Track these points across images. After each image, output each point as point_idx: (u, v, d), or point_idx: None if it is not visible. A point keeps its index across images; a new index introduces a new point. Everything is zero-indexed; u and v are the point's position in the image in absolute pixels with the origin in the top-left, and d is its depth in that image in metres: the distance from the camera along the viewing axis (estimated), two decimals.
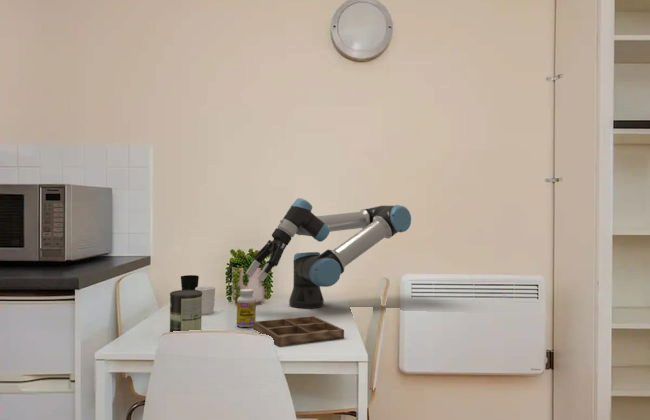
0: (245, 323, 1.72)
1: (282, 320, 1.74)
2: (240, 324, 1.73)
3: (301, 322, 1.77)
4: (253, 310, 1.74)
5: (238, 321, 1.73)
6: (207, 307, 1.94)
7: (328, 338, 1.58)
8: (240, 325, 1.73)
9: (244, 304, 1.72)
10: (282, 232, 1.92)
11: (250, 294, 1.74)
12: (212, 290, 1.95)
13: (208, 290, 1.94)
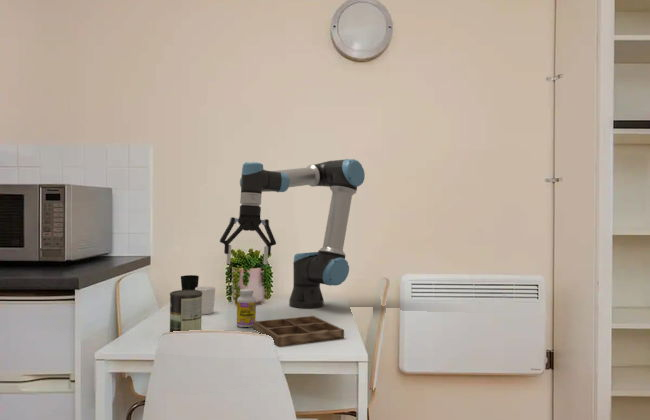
0: (245, 323, 1.72)
1: (282, 320, 1.74)
2: (240, 324, 1.73)
3: (301, 322, 1.77)
4: (253, 310, 1.74)
5: (238, 321, 1.73)
6: (207, 307, 1.94)
7: (328, 338, 1.58)
8: (240, 325, 1.73)
9: (244, 304, 1.72)
10: (260, 208, 1.77)
11: (250, 294, 1.74)
12: (212, 290, 1.95)
13: (208, 290, 1.94)
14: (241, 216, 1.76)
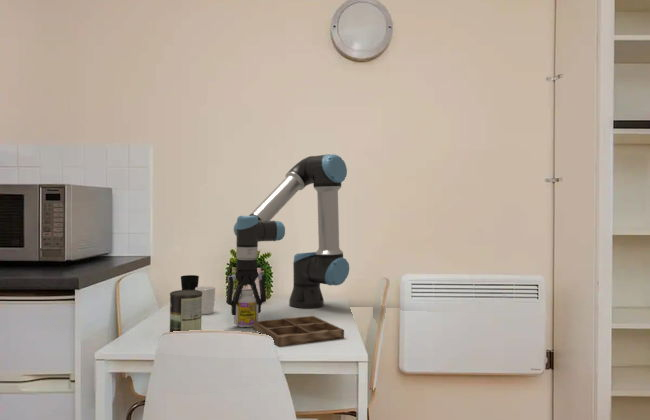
0: (245, 323, 1.72)
1: (282, 320, 1.74)
2: (240, 323, 1.73)
3: (301, 322, 1.77)
4: (253, 310, 1.74)
5: (238, 321, 1.73)
6: (207, 307, 1.94)
7: (328, 338, 1.58)
8: (240, 325, 1.73)
9: (244, 304, 1.72)
10: None
11: (250, 294, 1.74)
12: (212, 290, 1.95)
13: (208, 290, 1.94)
14: (238, 271, 1.73)
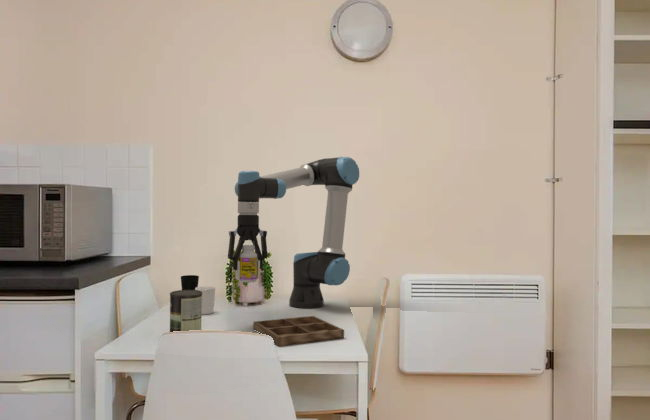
0: (247, 277, 1.72)
1: (282, 320, 1.74)
2: (241, 278, 1.73)
3: (301, 322, 1.77)
4: (254, 265, 1.74)
5: (240, 276, 1.73)
6: (207, 307, 1.94)
7: (328, 338, 1.58)
8: (242, 280, 1.73)
9: (245, 259, 1.72)
10: (258, 217, 1.75)
11: (251, 249, 1.74)
12: (212, 290, 1.95)
13: (208, 290, 1.94)
14: (240, 226, 1.73)
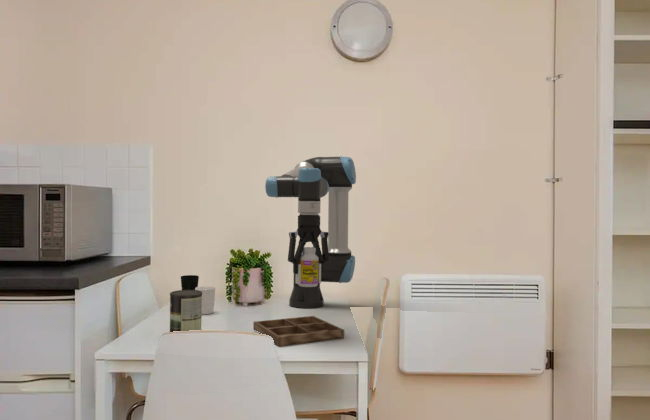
0: (308, 282, 1.61)
1: (282, 320, 1.74)
2: (302, 283, 1.61)
3: (301, 322, 1.77)
4: (316, 269, 1.63)
5: None
6: (207, 307, 1.94)
7: (328, 338, 1.58)
8: (303, 284, 1.61)
9: (307, 262, 1.61)
10: None
11: (313, 252, 1.63)
12: (212, 290, 1.95)
13: (208, 290, 1.94)
14: (301, 227, 1.62)
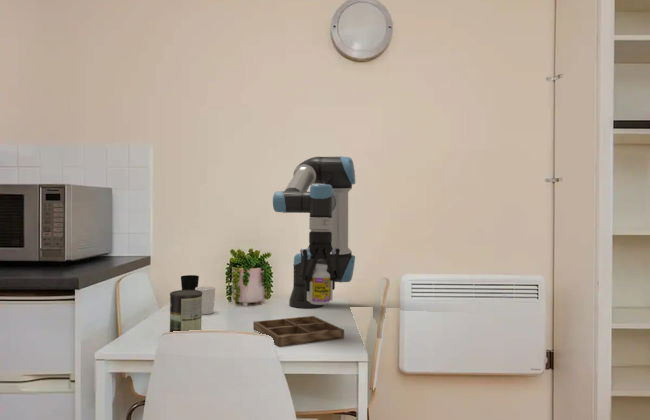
0: (320, 299, 1.59)
1: (282, 320, 1.74)
2: (314, 300, 1.60)
3: (301, 322, 1.77)
4: (328, 286, 1.61)
5: (312, 298, 1.60)
6: (207, 307, 1.94)
7: (328, 338, 1.58)
8: (314, 302, 1.60)
9: (319, 280, 1.59)
10: (331, 234, 1.62)
11: (325, 269, 1.61)
12: (212, 290, 1.95)
13: (208, 290, 1.94)
14: (312, 244, 1.60)
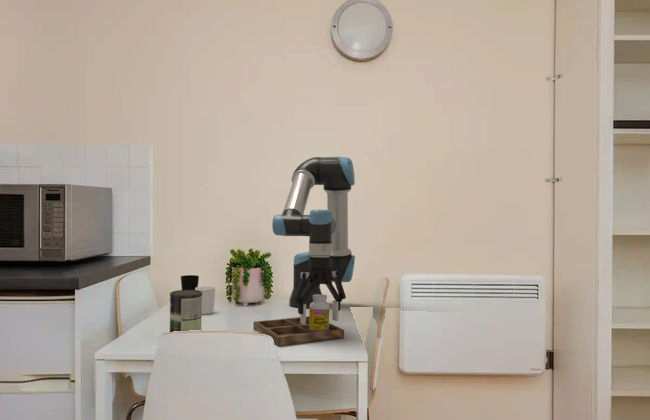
0: (319, 331, 1.59)
1: (282, 320, 1.74)
2: None
3: None
4: (327, 317, 1.61)
5: (311, 329, 1.60)
6: (207, 307, 1.94)
7: (328, 338, 1.58)
8: None
9: (318, 311, 1.59)
10: (331, 259, 1.62)
11: (324, 300, 1.61)
12: (212, 290, 1.95)
13: (208, 290, 1.94)
14: (312, 269, 1.60)
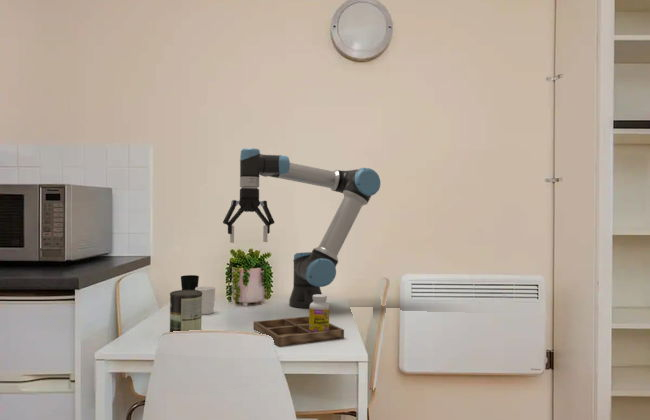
0: (319, 331, 1.59)
1: (282, 320, 1.74)
2: None
3: (301, 322, 1.77)
4: (327, 317, 1.61)
5: (311, 329, 1.60)
6: (207, 307, 1.94)
7: (328, 338, 1.58)
8: None
9: (318, 311, 1.59)
10: (258, 190, 1.92)
11: (324, 300, 1.61)
12: (212, 290, 1.95)
13: (208, 290, 1.94)
14: (242, 198, 1.90)
